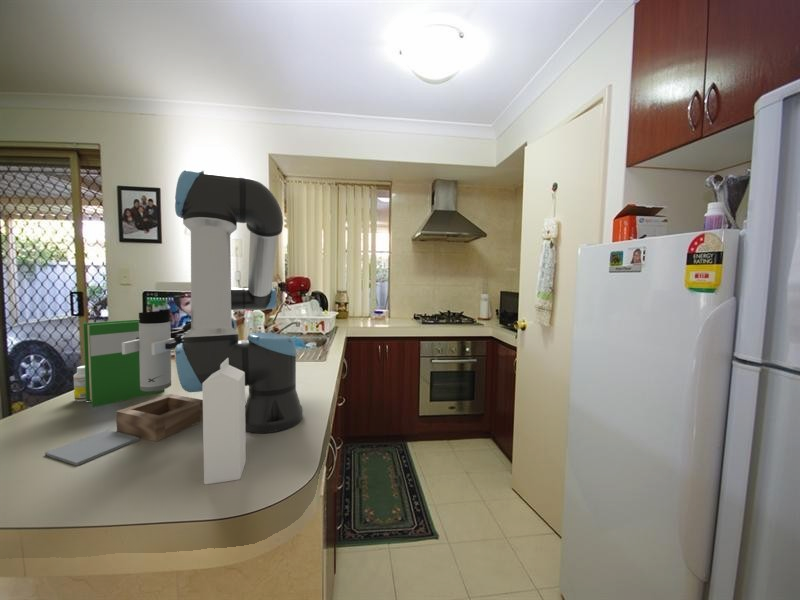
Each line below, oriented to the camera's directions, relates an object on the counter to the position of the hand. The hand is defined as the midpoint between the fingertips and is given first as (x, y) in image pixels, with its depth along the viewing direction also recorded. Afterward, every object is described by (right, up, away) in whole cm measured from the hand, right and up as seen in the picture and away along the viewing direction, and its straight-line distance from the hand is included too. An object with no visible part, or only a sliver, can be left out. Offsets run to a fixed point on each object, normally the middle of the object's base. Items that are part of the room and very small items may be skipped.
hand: (138, 348), depth 74 cm
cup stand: (+1, -21, +7) cm, 22 cm away
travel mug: (0, -11, +6) cm, 12 cm away
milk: (+28, -22, -13) cm, 38 cm away
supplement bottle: (-36, -19, +24) cm, 47 cm away
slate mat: (-6, -21, -4) cm, 22 cm away
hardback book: (-26, -19, +27) cm, 42 cm away
